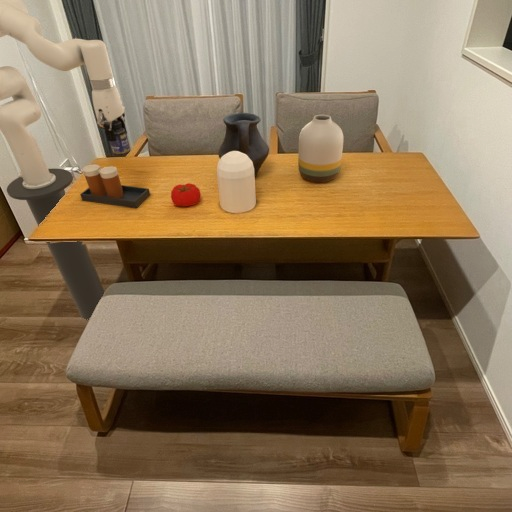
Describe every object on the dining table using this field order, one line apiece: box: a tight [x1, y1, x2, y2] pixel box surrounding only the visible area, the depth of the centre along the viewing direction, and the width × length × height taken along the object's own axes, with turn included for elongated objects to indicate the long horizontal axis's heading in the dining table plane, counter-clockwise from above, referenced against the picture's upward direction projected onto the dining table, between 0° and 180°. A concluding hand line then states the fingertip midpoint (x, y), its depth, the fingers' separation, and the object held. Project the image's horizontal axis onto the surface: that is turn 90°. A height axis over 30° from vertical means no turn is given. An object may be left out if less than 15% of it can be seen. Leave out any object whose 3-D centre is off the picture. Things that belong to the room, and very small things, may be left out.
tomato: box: [170, 182, 202, 207], centre depth 143 cm, size 10×11×6 cm
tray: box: [79, 184, 151, 209], centre depth 150 cm, size 24×10×3 cm, turn 73°
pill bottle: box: [106, 120, 131, 157], centre depth 137 cm, size 6×6×11 cm
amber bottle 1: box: [82, 163, 107, 196], centre depth 149 cm, size 6×6×11 cm
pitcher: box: [218, 112, 270, 176], centre depth 154 cm, size 21×22×25 cm
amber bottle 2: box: [100, 165, 124, 199], centre depth 147 cm, size 6×6×11 cm
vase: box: [297, 114, 344, 183], centre depth 150 cm, size 17×17×24 cm
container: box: [216, 151, 257, 214], centre depth 137 cm, size 14×13×20 cm
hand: (117, 136), depth 137 cm, fingers closed on pill bottle, 6 cm apart
